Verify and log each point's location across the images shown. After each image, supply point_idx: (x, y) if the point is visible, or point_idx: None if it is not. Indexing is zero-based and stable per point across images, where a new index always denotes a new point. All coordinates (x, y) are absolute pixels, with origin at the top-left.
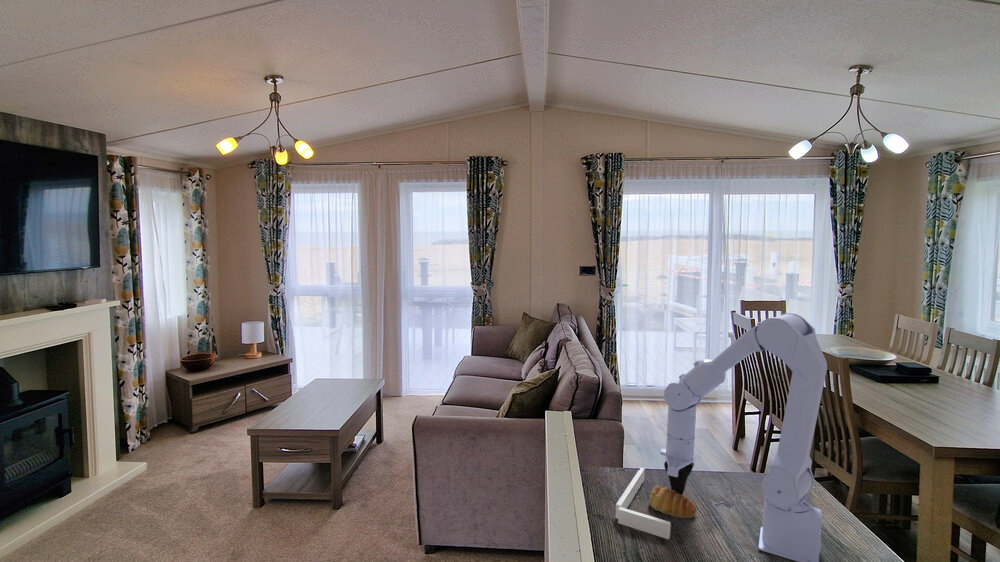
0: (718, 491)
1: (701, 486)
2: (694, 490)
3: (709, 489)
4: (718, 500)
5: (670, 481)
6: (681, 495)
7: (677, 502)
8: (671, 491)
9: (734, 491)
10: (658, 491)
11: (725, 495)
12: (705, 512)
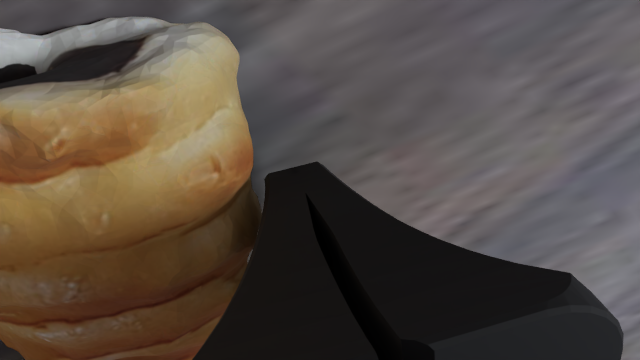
0: (593, 289)
1: (615, 197)
2: (530, 191)
3: (595, 247)
4: None
5: (253, 254)
6: (195, 323)
7: (47, 347)
8: (132, 281)
9: (632, 337)
10: (8, 177)
11: None
12: None
